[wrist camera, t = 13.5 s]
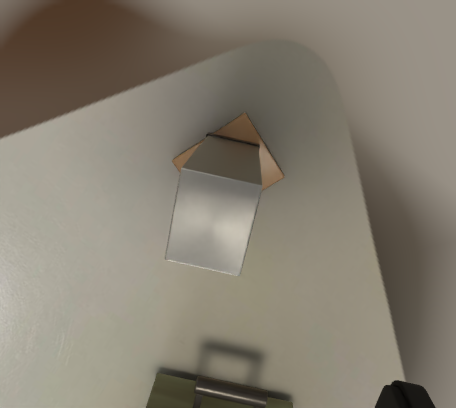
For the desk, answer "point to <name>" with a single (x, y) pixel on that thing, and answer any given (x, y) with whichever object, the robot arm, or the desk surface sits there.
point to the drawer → (208, 394)
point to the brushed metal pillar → (216, 205)
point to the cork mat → (247, 132)
